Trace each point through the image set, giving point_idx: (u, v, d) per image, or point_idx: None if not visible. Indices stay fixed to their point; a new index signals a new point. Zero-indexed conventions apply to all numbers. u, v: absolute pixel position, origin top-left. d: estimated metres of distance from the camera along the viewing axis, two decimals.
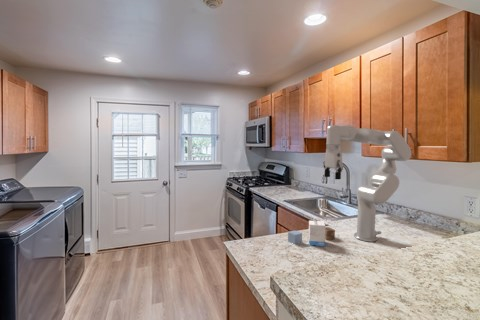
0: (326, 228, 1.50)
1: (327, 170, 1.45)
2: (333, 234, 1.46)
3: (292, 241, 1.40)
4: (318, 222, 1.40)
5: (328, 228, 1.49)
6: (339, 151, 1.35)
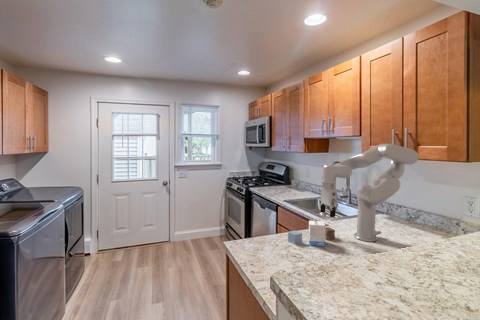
0: (326, 228, 1.50)
1: (323, 206, 1.52)
2: (333, 234, 1.46)
3: (292, 241, 1.40)
4: (318, 222, 1.40)
5: (328, 228, 1.49)
6: (334, 190, 1.43)
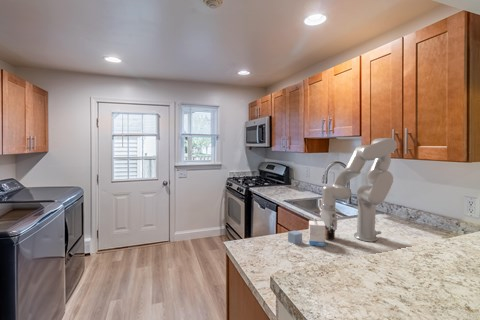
0: (325, 227, 1.50)
1: None
2: None
3: (292, 241, 1.40)
4: (318, 222, 1.40)
5: (328, 228, 1.49)
6: (334, 212, 1.43)
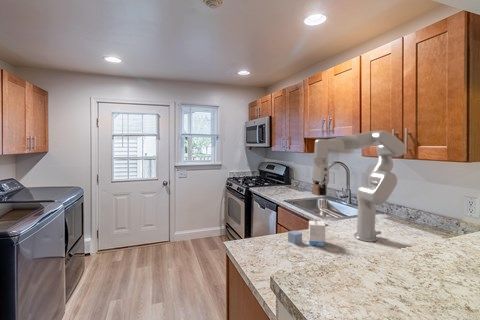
0: (317, 184, 1.42)
1: None
2: None
3: (292, 241, 1.40)
4: (318, 222, 1.40)
5: None
6: (326, 165, 1.35)
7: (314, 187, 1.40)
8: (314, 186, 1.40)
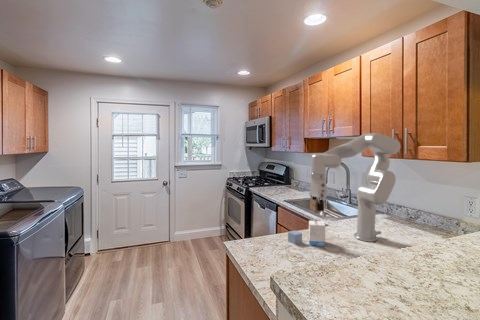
0: (315, 199, 1.40)
1: None
2: None
3: (292, 241, 1.40)
4: (318, 222, 1.40)
5: (317, 200, 1.40)
6: (323, 181, 1.34)
7: (311, 202, 1.39)
8: (311, 201, 1.39)
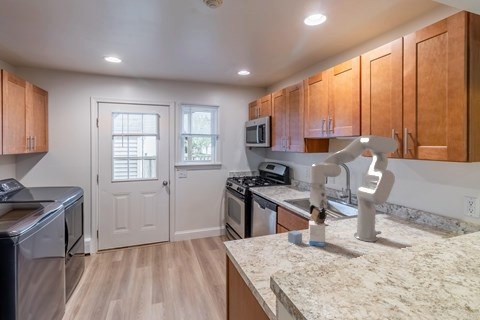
0: (318, 210, 1.41)
1: (312, 207, 1.43)
2: None
3: (292, 241, 1.40)
4: (318, 222, 1.40)
5: None
6: (323, 191, 1.34)
7: (314, 212, 1.39)
8: (314, 211, 1.39)
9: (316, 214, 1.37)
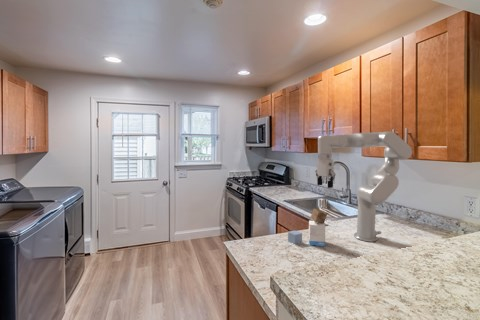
0: (318, 210, 1.41)
1: (319, 178, 1.49)
2: (324, 218, 1.37)
3: (292, 241, 1.40)
4: (318, 222, 1.40)
5: (321, 211, 1.40)
6: (330, 160, 1.40)
7: (314, 212, 1.39)
8: (314, 211, 1.39)
9: (316, 214, 1.37)
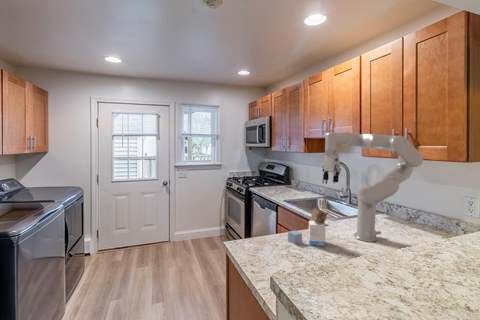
0: (318, 210, 1.41)
1: (326, 173, 1.56)
2: (324, 218, 1.37)
3: (292, 241, 1.40)
4: (318, 222, 1.40)
5: (321, 211, 1.40)
6: (337, 156, 1.47)
7: (314, 212, 1.40)
8: (315, 211, 1.40)
9: (316, 214, 1.37)
